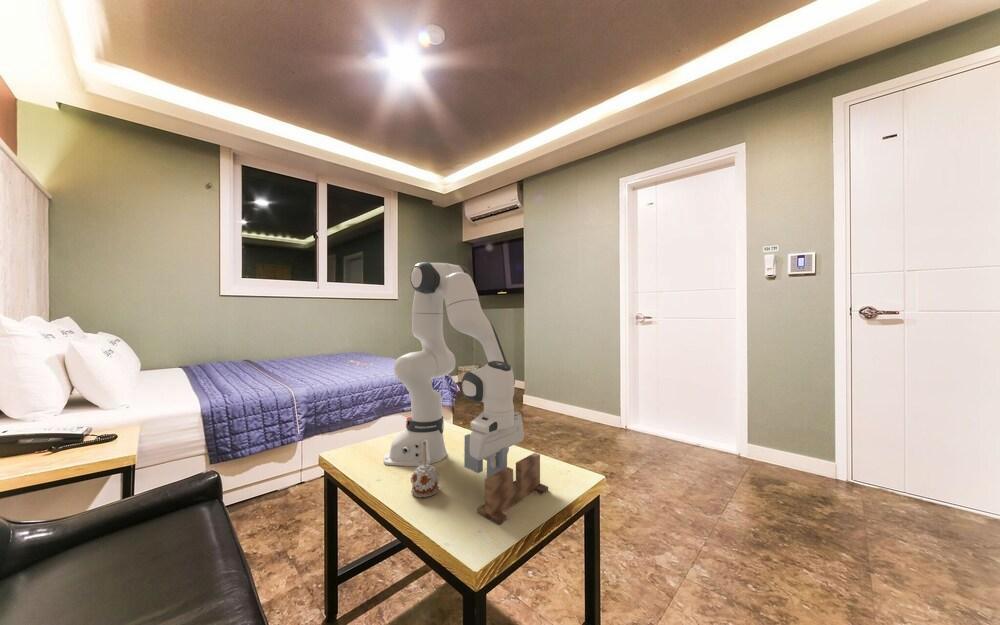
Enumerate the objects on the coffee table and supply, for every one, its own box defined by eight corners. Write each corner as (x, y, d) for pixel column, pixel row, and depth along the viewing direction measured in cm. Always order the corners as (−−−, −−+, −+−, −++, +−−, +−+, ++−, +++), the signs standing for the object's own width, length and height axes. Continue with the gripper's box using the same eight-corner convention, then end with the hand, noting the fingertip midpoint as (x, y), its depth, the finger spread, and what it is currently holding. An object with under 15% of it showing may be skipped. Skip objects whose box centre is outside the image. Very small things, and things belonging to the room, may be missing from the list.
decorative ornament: (406, 496, 103) (405, 445, 103) (421, 483, 111) (420, 435, 110) (429, 501, 101) (429, 448, 100) (443, 488, 108) (442, 438, 108)
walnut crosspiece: (499, 524, 89) (499, 485, 89) (477, 512, 95) (476, 475, 95) (548, 490, 106) (548, 457, 106) (526, 482, 111) (526, 450, 111)
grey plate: (506, 481, 103) (507, 447, 103) (502, 484, 102) (502, 449, 102) (468, 464, 114) (469, 433, 114) (464, 466, 112) (464, 435, 112)
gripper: (513, 407, 114) (512, 450, 114) (466, 423, 98) (465, 473, 99) (528, 412, 109) (528, 456, 110) (482, 429, 94) (481, 480, 94)
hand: (498, 464), depth 104 cm, fingers closed on grey plate, 2 cm apart
